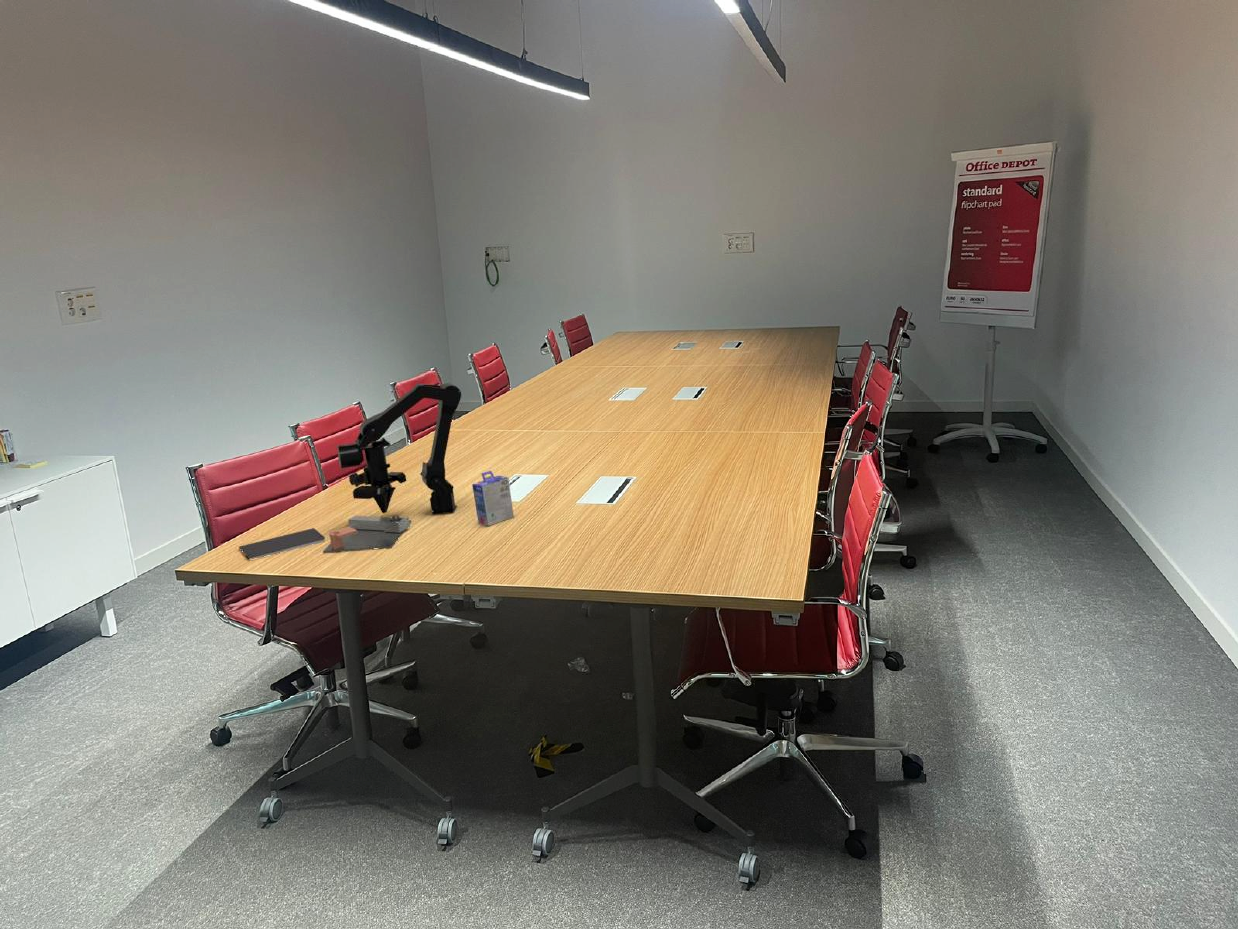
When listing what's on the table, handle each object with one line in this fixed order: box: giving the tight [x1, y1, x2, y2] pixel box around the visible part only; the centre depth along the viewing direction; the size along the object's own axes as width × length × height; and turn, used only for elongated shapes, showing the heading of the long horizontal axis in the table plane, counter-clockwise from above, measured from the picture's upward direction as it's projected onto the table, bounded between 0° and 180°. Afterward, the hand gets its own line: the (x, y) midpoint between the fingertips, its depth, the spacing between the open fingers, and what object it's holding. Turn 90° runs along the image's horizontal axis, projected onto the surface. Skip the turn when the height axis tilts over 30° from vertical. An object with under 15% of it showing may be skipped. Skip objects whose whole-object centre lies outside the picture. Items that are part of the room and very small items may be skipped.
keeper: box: [329, 525, 358, 550], centre depth 250 cm, size 6×6×5 cm
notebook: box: [238, 527, 326, 560], centre depth 258 cm, size 13×2×21 cm
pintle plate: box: [322, 514, 413, 554], centre depth 258 cm, size 19×22×5 cm
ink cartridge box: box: [471, 470, 515, 527], centre depth 261 cm, size 10×6×14 cm, turn 135°
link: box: [348, 515, 411, 533], centre depth 263 cm, size 18×5×3 cm, turn 68°
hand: (384, 512), depth 270 cm, fingers closed
